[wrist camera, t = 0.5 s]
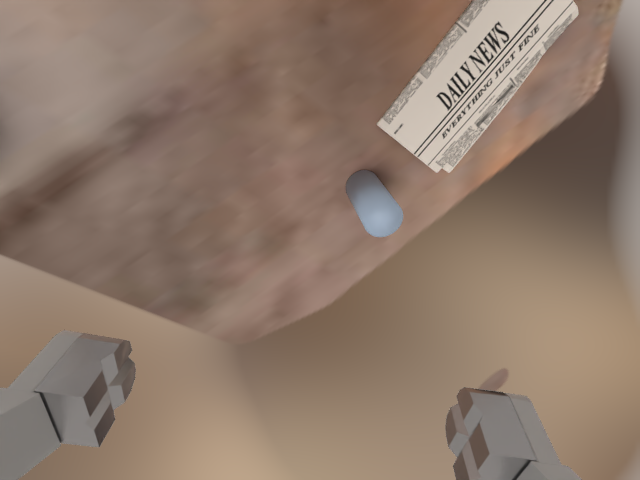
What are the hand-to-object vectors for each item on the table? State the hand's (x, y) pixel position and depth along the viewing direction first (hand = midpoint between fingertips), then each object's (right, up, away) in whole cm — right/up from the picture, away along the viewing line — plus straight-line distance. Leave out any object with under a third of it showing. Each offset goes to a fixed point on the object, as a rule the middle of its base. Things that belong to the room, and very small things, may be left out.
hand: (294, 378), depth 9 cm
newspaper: (+19, +23, +34) cm, 45 cm away
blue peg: (+6, +10, +39) cm, 41 cm away
